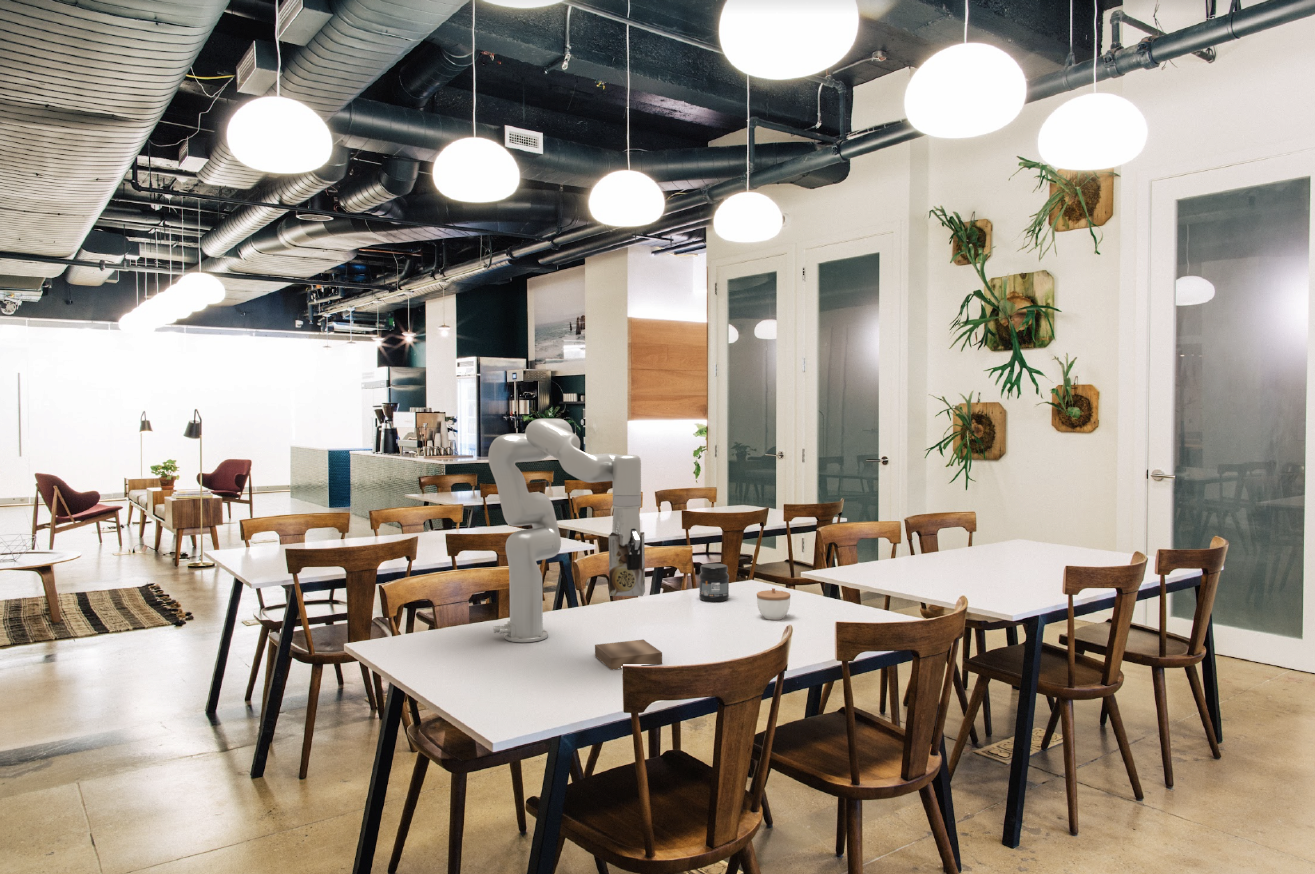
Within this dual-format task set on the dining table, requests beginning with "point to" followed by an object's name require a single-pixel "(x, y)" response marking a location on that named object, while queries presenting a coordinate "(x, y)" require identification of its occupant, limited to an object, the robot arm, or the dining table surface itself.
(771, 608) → the lidded jar
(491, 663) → the dining table surface
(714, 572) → the supplement container
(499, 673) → the dining table surface
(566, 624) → the dining table surface
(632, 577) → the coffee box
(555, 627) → the dining table surface
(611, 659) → the block
